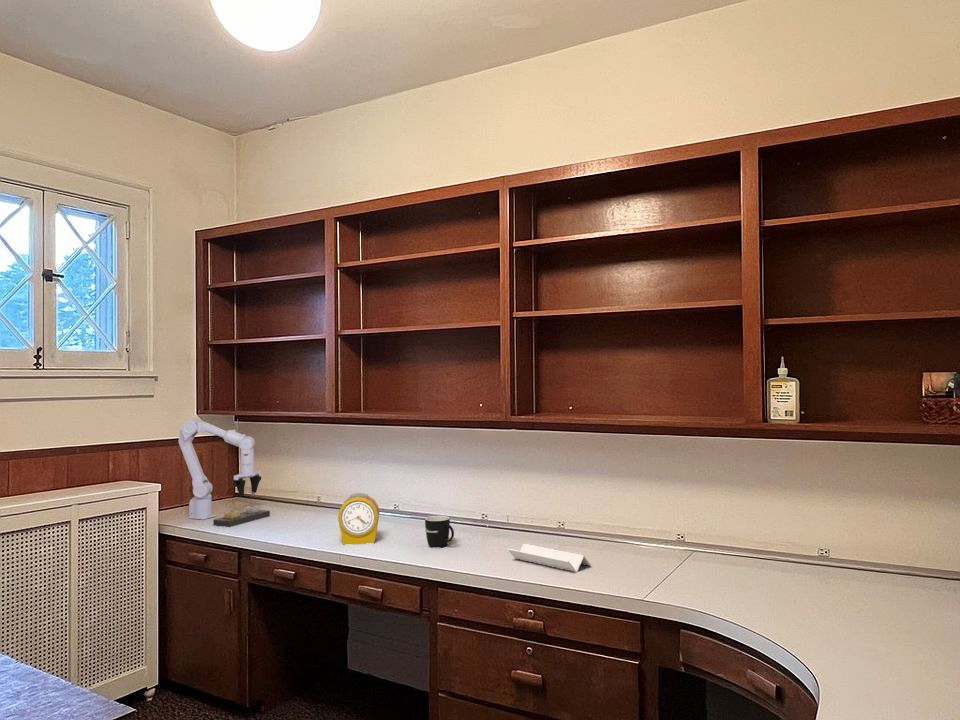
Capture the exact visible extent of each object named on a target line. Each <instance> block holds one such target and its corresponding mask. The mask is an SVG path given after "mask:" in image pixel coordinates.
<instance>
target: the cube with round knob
mask: <svg viewBox="0 0 960 720" xmlns="http://www.w3.org/2000/svg"><path fill="white" fill-rule="evenodd" d="M260 507H261V506H260V505H249V506H245V507H244V512H245V513H246V514H255V513H259V512H260V510H261V509H260Z"/></svg>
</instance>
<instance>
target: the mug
mask: <svg viewBox="0 0 960 720" xmlns="http://www.w3.org/2000/svg"><path fill="white" fill-rule="evenodd" d="M450 520H451V519H450V517H449V516H446V515H431V516H430V515H429V516H427V517H426V518H425V519H424V527H425V536H426V540H427V544H428V546H429V548H432V547H442V548H445V547H446V546H447V545H448V543H450V542H452V541H453V539H454V536H455V531H454V528H453V527H452V525H451V523H450ZM450 535H451V536H450ZM449 537H450V538H449Z"/></svg>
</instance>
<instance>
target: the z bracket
mask: <svg viewBox="0 0 960 720" xmlns="http://www.w3.org/2000/svg"><path fill="white" fill-rule="evenodd" d="M507 551H508V552H509V553H510V555H512V557H513V558H514V559H515V558H516V559H515V560H517V559H520V560H519V561H522V560H525V561H524V562H526V561H529V562H528V563H531V562H534V563H533V564H535V563H539V564H538V565H540V564H543V565H542V566H545V565H548V566H547V567H549V566H553V567H552V568H554V567H558V568H562V569H561V570H563V569H566V570H565V571H567V570H571V571H570V572H572V571H575V572H574V573H577V572H578V571H579V569H580V567H581V566H585V565H587V566H586V567H590V566H592V567H593V565H592V564H591V563H590V561H589V560H588V559H587V558H586V556H585V555H583V554H579V553H574V552H573V553H572V552H569V551H563V550H558V549H552V548H549V547H542V546H539V545H532V544H528V543H523V544H522V547H521V548H520V550H518V549H513V548H507ZM581 564H583V565H581ZM558 568H557V569H558ZM576 571H577V572H576Z"/></svg>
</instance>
